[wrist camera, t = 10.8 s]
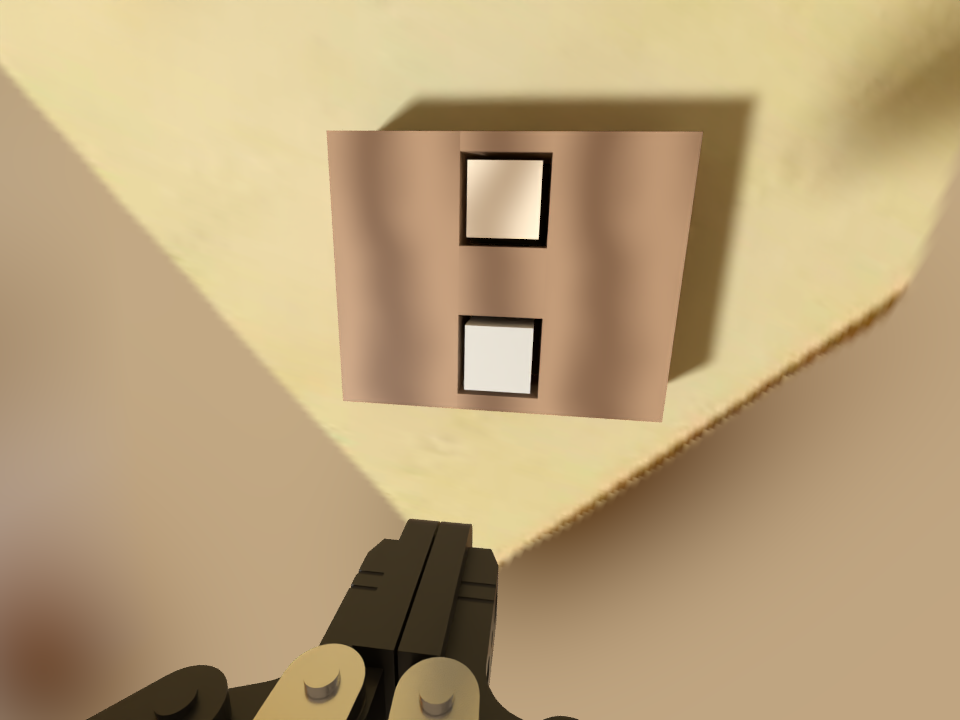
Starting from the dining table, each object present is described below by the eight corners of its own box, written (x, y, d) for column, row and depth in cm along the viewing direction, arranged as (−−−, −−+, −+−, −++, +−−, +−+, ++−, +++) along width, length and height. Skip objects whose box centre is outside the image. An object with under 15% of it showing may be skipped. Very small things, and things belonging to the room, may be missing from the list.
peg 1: (542, 171, 29) (543, 160, 24) (538, 237, 30) (538, 239, 26) (478, 170, 30) (467, 159, 25) (477, 235, 31) (466, 237, 26)
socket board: (675, 147, 29) (703, 131, 24) (643, 394, 33) (662, 422, 28) (359, 145, 31) (326, 130, 26) (369, 377, 35) (343, 400, 30)
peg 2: (534, 313, 32) (533, 328, 27) (531, 369, 33) (529, 393, 28) (475, 310, 32) (465, 325, 27) (474, 366, 33) (464, 389, 29)
